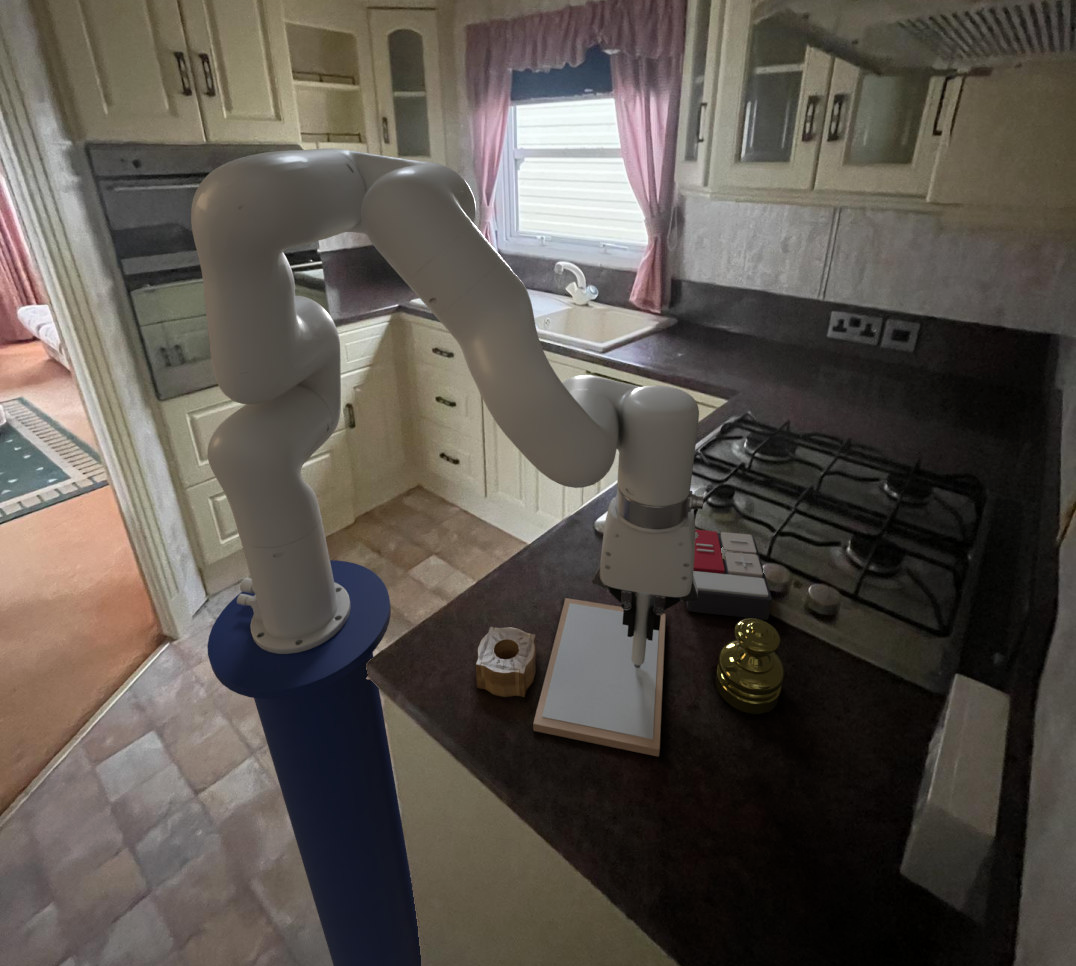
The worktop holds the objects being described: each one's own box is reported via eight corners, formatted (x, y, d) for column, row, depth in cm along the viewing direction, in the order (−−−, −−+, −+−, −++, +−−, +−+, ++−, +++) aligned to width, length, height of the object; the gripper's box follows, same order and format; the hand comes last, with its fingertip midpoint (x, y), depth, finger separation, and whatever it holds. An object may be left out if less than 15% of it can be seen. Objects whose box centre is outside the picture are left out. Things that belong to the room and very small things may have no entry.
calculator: (754, 531, 94) (773, 595, 80) (751, 554, 95) (769, 620, 82) (683, 525, 96) (690, 586, 82) (681, 547, 97) (687, 611, 83)
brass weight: (702, 673, 74) (712, 612, 70) (752, 656, 76) (764, 597, 72) (739, 724, 68) (751, 661, 64) (792, 705, 70) (808, 642, 66)
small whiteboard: (533, 730, 67) (533, 723, 67) (565, 604, 85) (565, 597, 85) (658, 757, 65) (659, 748, 64) (664, 620, 82) (665, 613, 82)
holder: (471, 690, 72) (469, 667, 71) (488, 645, 78) (487, 623, 77) (527, 701, 71) (527, 677, 69) (540, 655, 77) (540, 632, 75)
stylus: (630, 669, 73) (636, 594, 68) (631, 659, 74) (637, 584, 69) (643, 672, 72) (650, 596, 67) (644, 661, 74) (651, 587, 69)
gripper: (726, 490, 65) (707, 617, 73) (584, 473, 68) (580, 597, 76) (731, 532, 58) (709, 667, 66) (573, 511, 61) (570, 642, 69)
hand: (640, 629), depth 71 cm, fingers closed on stylus, 1 cm apart
